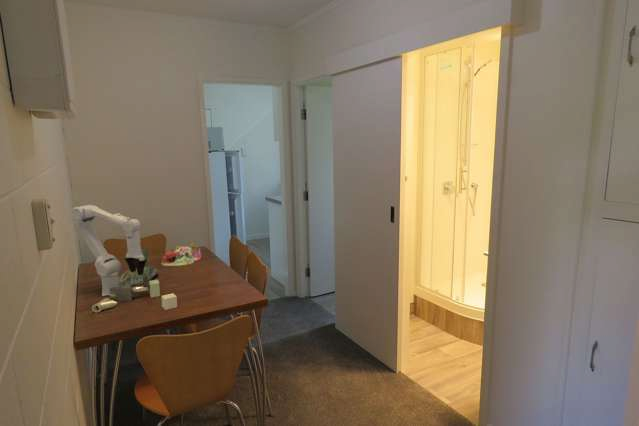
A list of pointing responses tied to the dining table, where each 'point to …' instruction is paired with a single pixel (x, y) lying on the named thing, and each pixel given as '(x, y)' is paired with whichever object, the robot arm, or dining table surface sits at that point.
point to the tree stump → (133, 277)
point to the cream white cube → (169, 301)
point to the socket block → (154, 288)
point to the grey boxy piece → (121, 293)
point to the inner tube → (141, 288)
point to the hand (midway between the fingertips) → (136, 273)
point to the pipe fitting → (104, 305)
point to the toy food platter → (181, 256)
